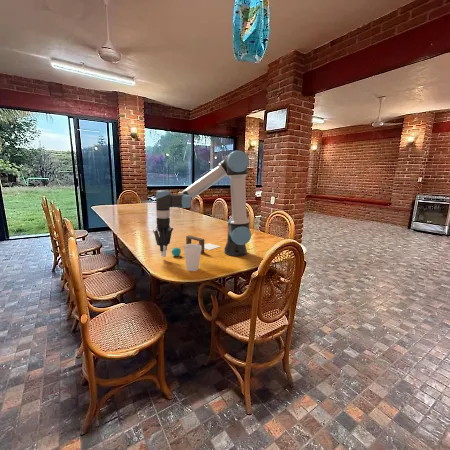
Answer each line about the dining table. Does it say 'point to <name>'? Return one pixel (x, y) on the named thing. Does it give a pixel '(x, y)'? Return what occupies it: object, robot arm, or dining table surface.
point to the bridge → (201, 241)
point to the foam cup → (192, 256)
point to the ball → (176, 251)
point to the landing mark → (210, 246)
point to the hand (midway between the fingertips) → (163, 256)
